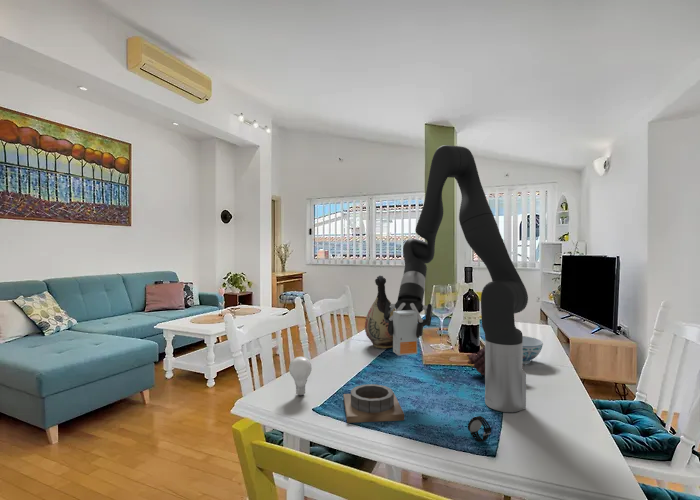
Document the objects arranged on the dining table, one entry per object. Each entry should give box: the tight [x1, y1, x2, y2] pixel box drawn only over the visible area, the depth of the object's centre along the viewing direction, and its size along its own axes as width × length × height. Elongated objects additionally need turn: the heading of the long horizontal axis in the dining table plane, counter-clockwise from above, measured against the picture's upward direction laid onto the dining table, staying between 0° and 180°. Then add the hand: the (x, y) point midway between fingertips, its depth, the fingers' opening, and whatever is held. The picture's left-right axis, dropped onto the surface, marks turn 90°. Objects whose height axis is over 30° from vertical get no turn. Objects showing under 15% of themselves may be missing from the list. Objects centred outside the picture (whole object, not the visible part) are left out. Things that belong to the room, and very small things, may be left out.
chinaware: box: [523, 335, 544, 365], centre depth 140 cm, size 15×15×8 cm
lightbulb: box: [288, 356, 313, 397], centre depth 109 cm, size 6×6×11 cm
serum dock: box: [343, 383, 405, 424], centre depth 100 cm, size 14×14×4 cm
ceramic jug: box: [364, 275, 396, 349], centre depth 161 cm, size 17×15×30 cm
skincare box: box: [392, 310, 419, 356], centre depth 110 cm, size 6×4×12 cm
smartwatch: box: [467, 415, 492, 443], centre depth 84 cm, size 4×5×5 cm
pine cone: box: [466, 347, 485, 376], centre depth 123 cm, size 18×10×10 cm, turn 57°
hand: (404, 335), depth 108 cm, fingers closed on skincare box, 7 cm apart
